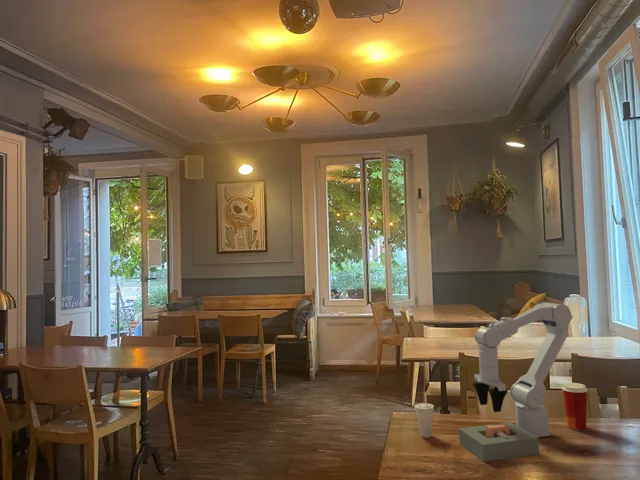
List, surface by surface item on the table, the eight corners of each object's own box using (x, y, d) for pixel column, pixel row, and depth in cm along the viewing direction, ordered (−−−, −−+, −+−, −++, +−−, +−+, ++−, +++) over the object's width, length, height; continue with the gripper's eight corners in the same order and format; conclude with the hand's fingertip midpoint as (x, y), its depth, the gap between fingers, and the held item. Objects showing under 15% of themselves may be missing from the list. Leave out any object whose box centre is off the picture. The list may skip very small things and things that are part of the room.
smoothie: (435, 439, 162) (433, 395, 162) (415, 438, 163) (413, 395, 164) (435, 432, 168) (433, 390, 169) (415, 431, 170) (413, 389, 170)
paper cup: (590, 425, 169) (588, 383, 169) (588, 433, 163) (586, 389, 163) (564, 422, 173) (562, 381, 174) (561, 429, 167) (559, 386, 167)
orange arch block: (504, 443, 155) (503, 423, 155) (510, 446, 152) (509, 426, 152) (485, 445, 154) (485, 425, 154) (491, 449, 151) (490, 428, 151)
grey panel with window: (511, 437, 162) (510, 419, 162) (539, 454, 148) (538, 434, 148) (459, 444, 158) (458, 425, 158) (483, 461, 144) (482, 441, 144)
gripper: (465, 361, 168) (467, 402, 168) (490, 371, 154) (492, 416, 153) (484, 360, 170) (486, 400, 169) (510, 369, 156) (512, 413, 155)
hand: (490, 408), depth 161 cm, fingers open, 7 cm apart
